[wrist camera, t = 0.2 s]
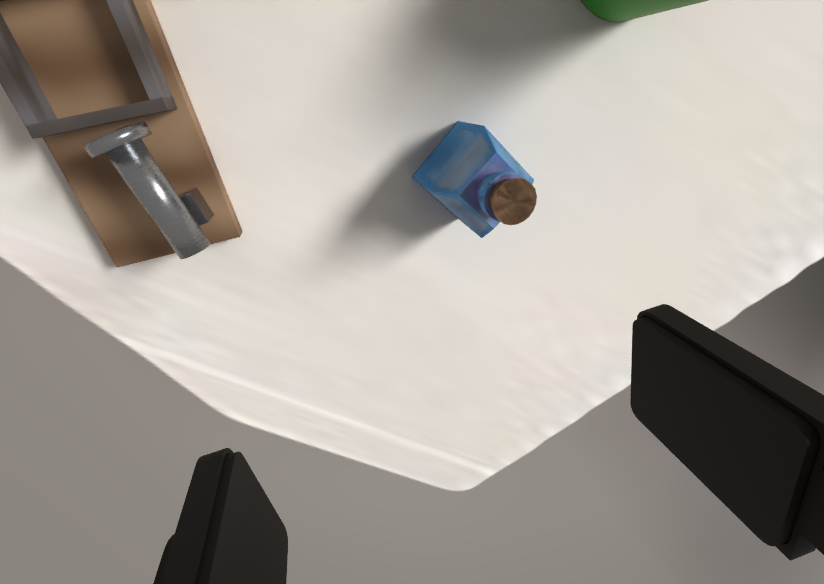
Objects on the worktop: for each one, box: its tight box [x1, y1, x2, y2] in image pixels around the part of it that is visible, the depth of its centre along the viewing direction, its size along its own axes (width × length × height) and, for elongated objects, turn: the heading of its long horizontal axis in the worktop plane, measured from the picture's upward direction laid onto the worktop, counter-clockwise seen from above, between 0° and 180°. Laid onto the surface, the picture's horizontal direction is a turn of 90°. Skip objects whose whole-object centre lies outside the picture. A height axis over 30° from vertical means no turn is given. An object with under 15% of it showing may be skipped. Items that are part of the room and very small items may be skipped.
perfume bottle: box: [412, 121, 537, 238], centre depth 33 cm, size 6×6×12 cm
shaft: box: [83, 121, 214, 259], centre depth 31 cm, size 9×4×7 cm, turn 21°
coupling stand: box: [0, 0, 242, 267], centre depth 28 cm, size 29×10×4 cm, turn 11°
